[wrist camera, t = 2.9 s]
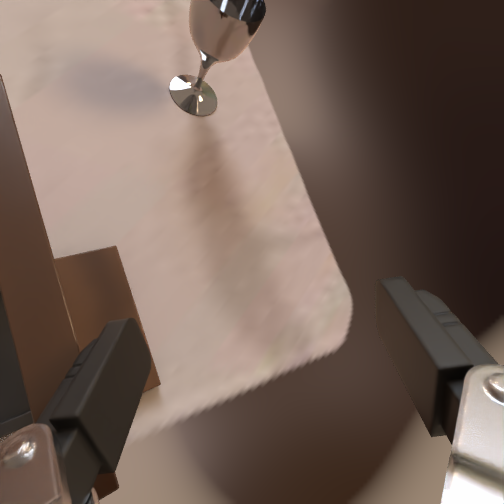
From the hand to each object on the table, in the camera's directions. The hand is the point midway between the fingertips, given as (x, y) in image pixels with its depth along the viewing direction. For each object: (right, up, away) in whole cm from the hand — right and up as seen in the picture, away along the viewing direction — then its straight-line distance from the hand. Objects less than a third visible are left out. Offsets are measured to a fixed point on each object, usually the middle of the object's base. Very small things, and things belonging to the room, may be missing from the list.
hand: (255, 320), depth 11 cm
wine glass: (-9, +25, +37) cm, 45 cm away
